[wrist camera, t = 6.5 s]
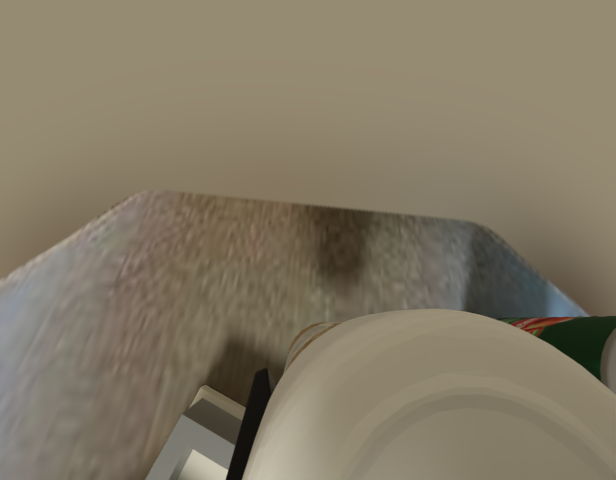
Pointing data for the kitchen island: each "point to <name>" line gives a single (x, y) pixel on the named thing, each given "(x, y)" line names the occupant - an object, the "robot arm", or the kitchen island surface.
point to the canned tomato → (578, 341)
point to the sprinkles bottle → (433, 405)
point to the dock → (201, 440)
